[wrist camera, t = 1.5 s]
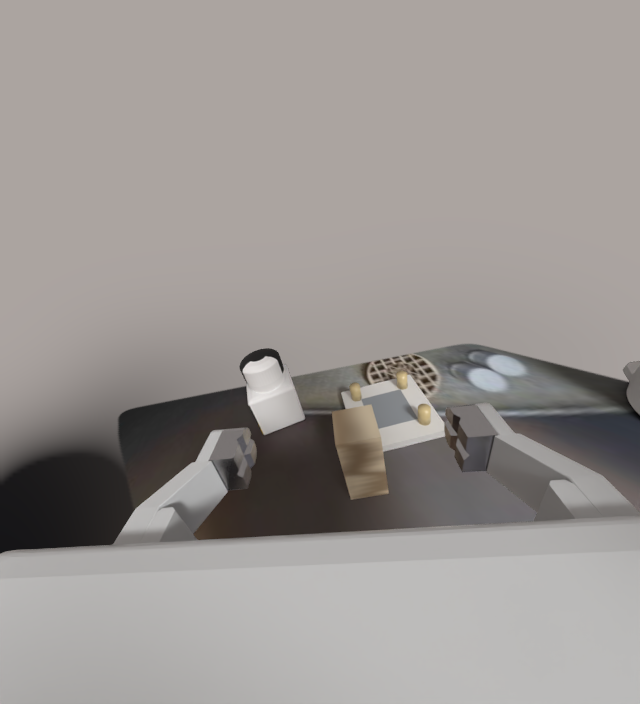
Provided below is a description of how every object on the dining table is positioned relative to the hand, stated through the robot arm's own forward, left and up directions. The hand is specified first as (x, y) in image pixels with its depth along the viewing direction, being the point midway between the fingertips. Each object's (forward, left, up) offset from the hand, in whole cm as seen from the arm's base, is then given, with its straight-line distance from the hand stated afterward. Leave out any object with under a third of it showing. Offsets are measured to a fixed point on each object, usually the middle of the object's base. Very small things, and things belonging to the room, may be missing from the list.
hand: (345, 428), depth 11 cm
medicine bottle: (+9, -26, -23) cm, 36 cm away
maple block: (-1, -11, -22) cm, 25 cm away
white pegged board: (-7, -20, -22) cm, 31 cm away
